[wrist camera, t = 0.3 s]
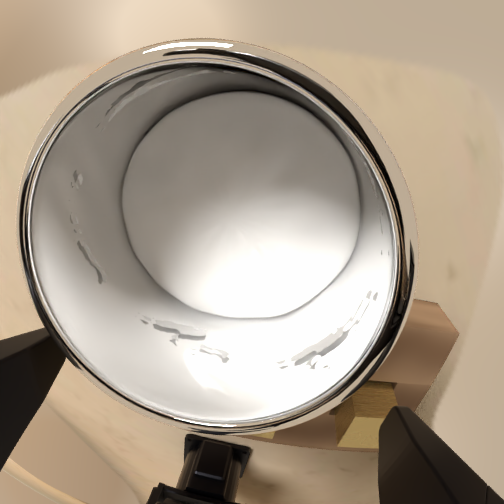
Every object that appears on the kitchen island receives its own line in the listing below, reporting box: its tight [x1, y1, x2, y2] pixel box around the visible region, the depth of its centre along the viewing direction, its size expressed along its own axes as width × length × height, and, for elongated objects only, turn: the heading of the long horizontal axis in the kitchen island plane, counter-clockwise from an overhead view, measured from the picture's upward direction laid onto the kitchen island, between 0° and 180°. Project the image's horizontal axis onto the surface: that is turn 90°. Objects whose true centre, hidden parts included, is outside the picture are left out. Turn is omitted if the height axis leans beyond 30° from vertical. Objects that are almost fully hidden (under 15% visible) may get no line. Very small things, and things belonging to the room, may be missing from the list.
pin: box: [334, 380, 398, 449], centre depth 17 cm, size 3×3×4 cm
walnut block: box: [233, 299, 459, 452], centre depth 20 cm, size 12×16×4 cm
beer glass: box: [16, 38, 419, 435], centre depth 11 cm, size 7×7×15 cm
